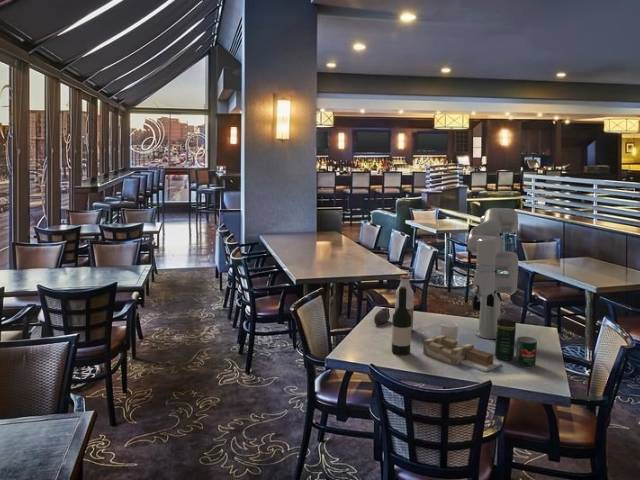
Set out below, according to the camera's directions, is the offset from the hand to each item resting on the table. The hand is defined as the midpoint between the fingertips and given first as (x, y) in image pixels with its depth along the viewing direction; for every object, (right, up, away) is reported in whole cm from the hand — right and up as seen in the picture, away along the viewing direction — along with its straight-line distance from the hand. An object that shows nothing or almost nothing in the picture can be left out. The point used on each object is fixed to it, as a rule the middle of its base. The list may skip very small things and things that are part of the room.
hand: (483, 308), depth 224 cm
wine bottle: (-32, -22, +16) cm, 42 cm away
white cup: (-8, -21, +27) cm, 35 cm away
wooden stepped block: (-12, -23, +12) cm, 28 cm away
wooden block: (-1, -23, +3) cm, 23 cm away
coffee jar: (+13, -23, +12) cm, 29 cm away
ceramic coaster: (0, -24, +3) cm, 24 cm away
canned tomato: (+19, -25, +3) cm, 31 cm away
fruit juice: (-26, -18, +50) cm, 59 cm away
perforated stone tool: (-36, -16, +61) cm, 73 cm away
